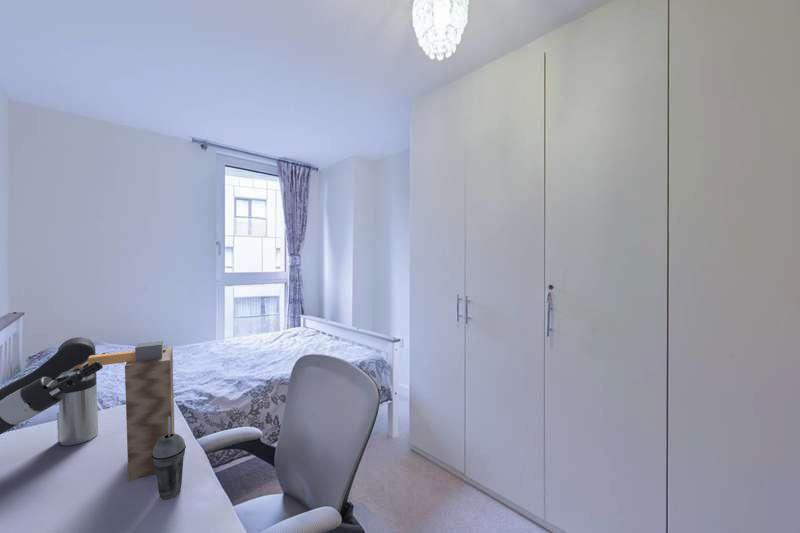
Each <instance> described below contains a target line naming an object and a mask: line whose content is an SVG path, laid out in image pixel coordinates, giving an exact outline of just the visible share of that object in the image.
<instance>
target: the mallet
mask: <svg viewBox="0 0 800 533" xmlns="http://www.w3.org/2000/svg"><path fill="white" fill-rule="evenodd" d="M163 342H164V341H163V340H159V341H149V342H141V343H136V345H135V347H134V350H126V351H119V352H110V353H106V354H102V353H100V354H96V355H91V356H89V358H88V366H89V365H91V364H93V363H95V362H97V361H98V362H100V364H101V365H102V366H106V365H115V364H122V363H127V362H131V361H136V362H138V361H146V360H153V359H161V358H162V357H163V345H164V343H163Z"/></svg>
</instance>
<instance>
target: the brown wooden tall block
mask: <svg viewBox="0 0 800 533" xmlns="http://www.w3.org/2000/svg"><path fill="white" fill-rule="evenodd" d="M173 354H174V353H173V345H169V346H167V344H163V357H162V358H161V359H153V360H146V361H138V362H136V361H131V362H125V365H124V379H125V380H124V381H125V384H124V386H125V387H124V388H125V414H126V416H125V417H126V444H127V446H126V447H127V479H128V480H127V481H128V483H130V482H133V481H137V480H140V479H145V478H148V477H152V476H154V475H155V476H156V469H155V464H154V461H153V458H152V453H153V448H154V446H155V444H156V443H157V441H158V440H159V439H160V438H162V437H163V436H165V435H167V434H168V417H169V416H170V434H172V433H174V434H176V433H175V405H174V404H175V403H174V402H175V401H174V400H175V399H174V398H175V397H174V396H175V395H174V392H175V391H174V356H173Z"/></svg>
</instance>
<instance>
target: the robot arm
mask: <svg viewBox="0 0 800 533" xmlns="http://www.w3.org/2000/svg"><path fill="white" fill-rule="evenodd" d="M101 354H107V353H106V352H102V353H101ZM91 355H97V353H96V346H95V343H94V342H93V341H92V340H90V339H89V338H87V337H82V336H81V337H80V336H79V337H72V338H69V339H66V340H65V341H64V342H62V344H60V345H59V347H58V348H57V351H56V352H55V353H54V354H53V355H52V356H51V357H50V358H48V359H47V360H46V361H45V362H43V363H42V364H41V365H40V366H39V367H38V368H36V369H35V370H33V371H32V372H30V373H27V374H26V375H25V376H23V377H20V378H18V379H16V380H14V381H13V382H10V383H9V384H7V385H5V386H3V387H2V388H0V435H2V434H4V433H6V432H8V431H9V430H11V429H13V428H15V427H16V426H18V425H19V424H21V423H23V422H25V421H28V420H30V419H32V418H34V417H35V416H37V415H39V414H41V413H43V412H44V411H46V410H48V409H49V408H51V407H53V406H54V405H56V404H58V412H57V413H56V423H57V426H56V428H57V442H59V443H60V445H61V446H66V447H67V446H74V445H79V444H82V443H86V442H88V441H90V440H92V439H94V438H95V437H97V436H98V434H99V413H98V412H99V411H98V410H99V409H98V388H97V387H98V385H97V384H98V383H97V372H99V371H100V370H102V369H103V367H104V365H101V364H100V362H98V361H97V362H95V363H93V364H91V365H89V366H88V358H89V356H91Z"/></svg>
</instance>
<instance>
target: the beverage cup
mask: <svg viewBox="0 0 800 533" xmlns="http://www.w3.org/2000/svg"><path fill="white" fill-rule="evenodd" d="M186 448H187V446H186V443H185V439H184V438H183V437H182V436H181V434H178V433H175V434H174V433H172V434H170V416H169V417H168V434H167V435H165V436H163V437H162V438H160V439H159V440H158V441H157V443H156V444H155V446H154V448H153V453H152V458H153V461H154V464H155V469H156V475H155V476H156V482H157V488H158V494H159V499H160V498H161V499H162V501H169V500H172V499H175V498H177V496H179V495H180V493H181V491H182V490H181V489H182V485H183V484H182V483H183V470H184V469H183V468H184V459H185V458H184V457H185V453H186ZM161 499H160V500H161Z"/></svg>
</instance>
